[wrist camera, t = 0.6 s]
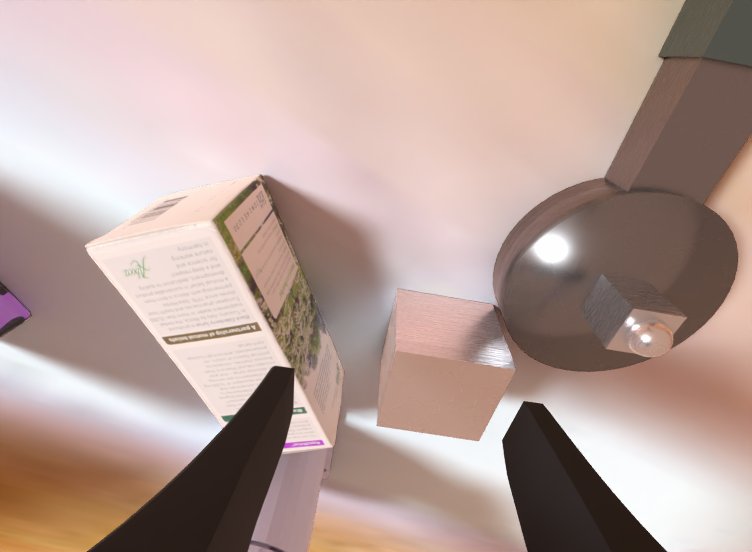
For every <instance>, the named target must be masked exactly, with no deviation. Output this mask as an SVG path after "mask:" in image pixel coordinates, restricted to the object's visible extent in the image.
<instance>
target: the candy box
mask: <svg viewBox="0 0 752 552" xmlns="http://www.w3.org/2000/svg"><path fill="white" fill-rule="evenodd" d="M30 318H31V315H30V312H29V311H28V310H27V309H26V308H25V307H24V306H23V305H22V304H21V303H20V302H19V301H18V300H17V299H16V298H15V297H14V296H13V295H12V294H11V293H10V292H9V291H8V290H7V289H6V288H4V287H3V286H2V285H1V284H0V338H1V337H3V336H4V335H5V334H7V333H8V332H10V331H11V330H13V329H14V328H15V327H17V326H19V325H20V324H22V323H24V322H25V321H27V320H29V319H30Z"/></svg>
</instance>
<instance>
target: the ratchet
mask: <svg viewBox="0 0 752 552" xmlns="http://www.w3.org/2000/svg"><path fill="white" fill-rule="evenodd" d="M659 56H661V57H666V58H665V60H664V62H663V64H662V66H661V68H660V70H659V72H658V74H657V76H656V78H655V80H654V81H653V83H652V85H651V87H650V89H649V91H648V93H647V95H646V97H645V99H644V101H643V103H642V105H641V107H640V109H639V111H638V113H637V115H636V117H635V119H634V121H633V123H632V125H631V127H630V129H629V131H628V133H627V135H626V137H625V139H624V141H623V143H622V145H621V146H620V148H619V150H618V152H617V154H616V156H615V158H614V160H613V162H612V164H611V166H610V168H609V170H608V172H607V174H606V176H605V178H599V179H594V180H590V181H586V182H583V183H580V184H577V185H574V186H572V187H569V188H566V189H564V190H562V191H560V192H558V193H556V194H554V195H552V196H551V197H549V198H548V199H546V200H545V201H543V202H541V203H540V204H539V205H537V206H536V207H535V208H534V209H532V210H531V211H530V212H528V213H527V214H526V215H525V216H524V217H523V218H522V219H521V220H520V221H519V222H518V223H517V225H516V226H515V227H514V228H513V230H512V231H511V232H510V233H509V235H508V236H507V238H506V240H505V241H504V243H503V245H502V247H501V249H500V251H499V253H498V256H497V259H496V262H495V266H494V272H493V288H494V294H495V297H496V300H497V303H498V305H499V308H500V311H501V313H502V316H503V318H504V321H505V324H506V326H507V329H508V331H509V333H510V335H511V337H512V339H513V340H514V342H515V343H516V344H517V345H518V346H519V348H520V349H522V350H523V351H524V352H525V353H526V354H527V355H529V356H530V357H532V358H534V359H535V360H537V361H539V362H541V363H543V364H546V365H549V366H552V367H555V368H559V369H564V370H571V371H586V372H592V371H605V370H611V369H618V368H622V367H626V366H630V365H634V364H637V363H640V362H643V361H646V360H648V359H650V358H653V357H658V356H661V355H663V354H665V353H667V352H668V351H669V350H670V349H671V348H673V347H675V346H676V345H678V344H680V343H681V342H683V341H684V340H686V339H687V338H688V337H690V336H691V335H692V334H694V333H695V332H696V331H697V330H698V329H700V328H701V327H702V326H703V325H704V324H705V323H706V322H707V321H708V320H709V319H710V318H711V317H712V316H713V315H714V314H715V312H716V311H717V310H718V308H719V307H720V306H721V304H722V303H723V302H724V300H725V298H726V296H727V295H728V293H729V291H730V289H731V286H732V284H733V282H734V279H735V275H736V271H737V265H738V251H737V244H736V241H735V238H734V236H733V233H732V231H731V230H730V228H729V227H728V225H727V224H726V222H725V221H724V220H723V219H722V218H721V217H720V216H719V215H718V214H717V213H715V212H714V211H712V210H711V209H709V208H708V207H706V206H704V205H703V203H704V202H705V201H706V199H707V198H708V196H709V195H710V193H711V192H712V190H713V189H714V187H715V186H716V185H717V183H718V182H719V180H720V179H721V177H722V176H723V174H724V173H725V171H726V170H727V168H728V167H729V166H730V164H731V163H732V161H733V160H734V158H735V157H736V155H737V154H738V152H739V151H740V150H741V148H742V147H743V145H744V144H745V142H746V141H747V139H748V138H749V136H750V135H751V134H752V0H686V1H685V3H684V5H683V7H682V9H681V11H680V13H679V15H678V17H677V19H676V21H675V23H674V25H673V27H672V29H671V31H670V33H669V35H668V37H667V39H666V42H665V44H664V46H663V48H662V50H661V52H660V54H659Z"/></svg>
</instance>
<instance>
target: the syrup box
mask: <svg viewBox="0 0 752 552" xmlns="http://www.w3.org/2000/svg"><path fill="white" fill-rule="evenodd" d="M85 247H86V249H87V252H88V254H89V255H90V257H91V258H92V259H93V260H94V262H95V263H96V264H97V265H98V267H99V268H100V269H101V270H102V272H103V273H104V274H105V275H106V277H107V278H108V279H109V280H110V282H111V283H112V284H113V285H114V287H115V288H116V289H117V290H118V291H119V293H120V294H121V295H122V296H123V298H124V299H125V300H126V301H127V303H128V304H129V305H130V306H131V308H132V309H133V310H134V311H135V313H136V314H137V315H138V317H139V318H140V319H141V320H142V322H143V323H144V324H145V326H146V327H147V328H148V330H149V331H150V332H151V333H152V334H153V336H154V337H155V338H156V340H157V341H158V342H159V344H160V345H161V346H162V348H163V349H164V350H165V351H166V353H167V354H168V355H169V357H170V358H171V359H172V361H173V362H174V363H175V364H176V366H177V367H178V368H179V370H180V371H181V372H182V373H183V375H184V376H185V377H186V379H187V380H188V381H189V383H190V384H191V385H192V386H193V388H194V389H195V390H196V392H197V393H198V394H199V396H200V397H201V398H202V400H203V401H204V402H205V404H206V405H207V406H208V408H209V409H210V410H211V412H212V413H213V414H214V416H215V417H216V418H217V420H218V421H219V422H220V423H221V425H222V426H223V428H224V427H225V426H226V425H227V423H228V422H229V421H230V420H231V419H232V418H233V416H234V415H235V414H236V413H237V412H238V411H239V409H240V408H241V407H242V406H243V405H244V403H245V402H246V401H247V400H248V398H249V397H250V396H251V395H252V393H253V392H254V391H255V390H256V388H257V387H258V386H259V384H260V383H261V382H262V380H263V379H264V377H265V376H266V375H267V373H268V372H269V370H270V369H271V368H272V367H273V366H282V367H289V368H295V372H294V408H293V415H292V419H291V423H290V427H289V431H288V435H287V438H286V442H285V446H284V448H283V451H282V454H288V453H296V452H304V451H311V450H317V449H323V448H330V447H334V446H335V438H336V432H337V426H338V420H339V414H340V408H341V398H342V386H343V379H344V370H343V367H342V365H341V363H340V360H339V357H338V355H337V353H336V350H335V348H334V345H333V343H332V341H331V338H330V336H329V333H328V331H327V329H326V326H325V324H324V321H323V319H322V317H321V314H320V312H319V310H318V307H317V305H316V303H315V300H314V298H313V296H312V293H311V291H310V288H309V286H308V283H307V281H306V278H305V276H304V274H303V272H302V269H301V267H300V264H299V262H298V259H297V257H296V255H295V252H294V250H293V248H292V245H291V243H290V241H289V238H288V236H287V233H286V231H285V229H284V226H283V224H282V222H281V219H280V217H279V215H278V212H277V210H276V208H275V205H274V203H273V200H272V198H271V196H270V193H269V191H268V189H267V186H266V184H265V181H264V179H263V176H262V175H260V174H258V175H253V176H248V177H244V178H239V179H235V180H230V181H224V182H219V183H215V184H210V185H206V186H201V187H197V188H193V189H189V190H184V191H179V192H175V193H171V194H167V195H164V196H161V197H160V198H158V199H157V200H156V201H155V202H153V203H152V204H150V205H149V206H147V207H146V208H144V209H143V210H141V211H140V212H138V213H137V214H135V215H134V216H132V217H131V218H129V219H128V220H127V221H125V222H124V223H122V224H121V225H119V226H118V227H116V228H115V229H113V230H112V231H110V232H109V233H107V234H105V235H104V236H102V237H99V238H96V239H94V240H92V241H91V242H89V243H88V244H86V245H85Z"/></svg>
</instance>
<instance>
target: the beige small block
mask: <svg viewBox="0 0 752 552" xmlns="http://www.w3.org/2000/svg"><path fill="white" fill-rule="evenodd" d="M515 372H516V367H515V365H514V362H513V359H512V356H511V354H510V351H509V348H508V345H507V343H506V340H505V337H504V334H503V331H502V329H501V326H500V323H499V320H498V318H497V315H496V312H495V309H494V307H493V304H487V303H481V302H475V301H469V300H462V299H456V298H450V297H444V296H438V295H432V294H426V293H420V292H414V291H408V290H402V289H397V292H396V296H395V300H394V305H393V309H392V314H391V318H390V322H389V327H388V331H387V335H386V340H385V344H384V348H383V353H382V357H381V370H380V385H379V400H378V415H377V426H381V427H388V428H395V429H401V430H408V431H414V432H421V433H428V434H434V435H441V436H447V437H454V438H461V439H467V440H474V441H479V440H480V438H481V436H482V434H483V432H484V430H485V428H486V426H487V425H488V423H489V421H490V419H491V417H492V415H493V413H494V411H495V409H496V408H497V406H498V404H499V402H500V400H501V398H502V396H503V394H504V392H505V390H506V389H507V387H508V385H509V383H510V381H511V379H512V377H513V375H514V373H515Z"/></svg>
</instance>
